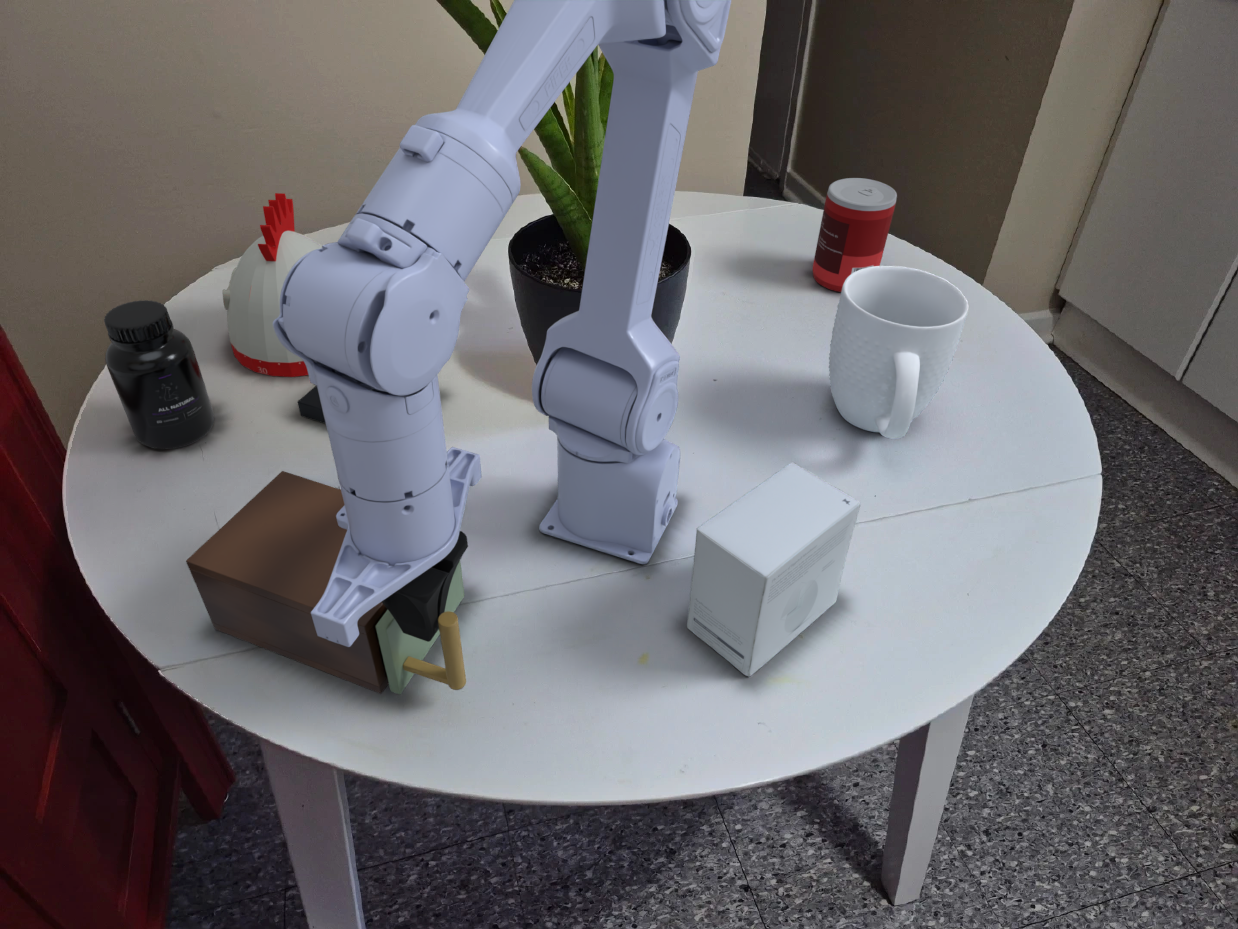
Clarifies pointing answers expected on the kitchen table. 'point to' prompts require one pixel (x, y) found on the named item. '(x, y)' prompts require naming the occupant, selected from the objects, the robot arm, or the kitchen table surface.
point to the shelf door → (425, 646)
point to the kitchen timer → (265, 293)
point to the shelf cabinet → (285, 579)
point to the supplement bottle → (156, 376)
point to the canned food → (852, 229)
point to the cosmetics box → (769, 566)
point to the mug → (892, 345)
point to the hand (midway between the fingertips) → (421, 629)
